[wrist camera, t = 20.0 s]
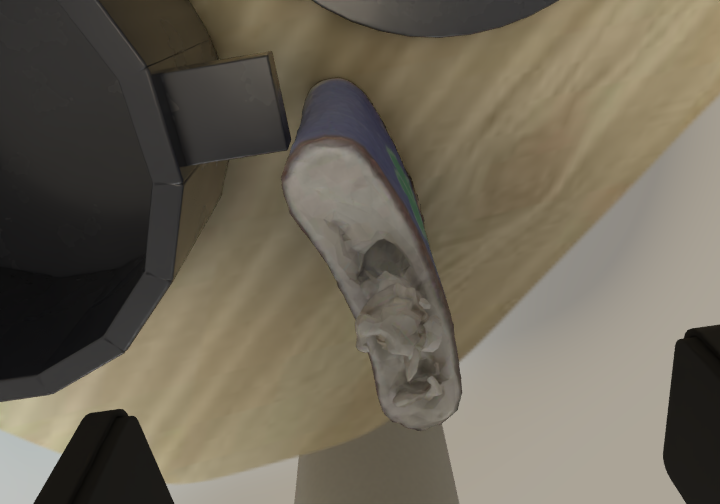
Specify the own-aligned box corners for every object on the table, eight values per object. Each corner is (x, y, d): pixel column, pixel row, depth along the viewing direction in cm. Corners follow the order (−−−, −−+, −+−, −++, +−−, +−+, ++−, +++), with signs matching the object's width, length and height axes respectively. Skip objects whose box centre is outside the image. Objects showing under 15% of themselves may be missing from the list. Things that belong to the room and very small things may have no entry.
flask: (292, 90, 21) (250, 188, 11) (367, 60, 20) (390, 133, 11) (380, 294, 25) (405, 497, 15) (444, 271, 24) (513, 465, 15)
